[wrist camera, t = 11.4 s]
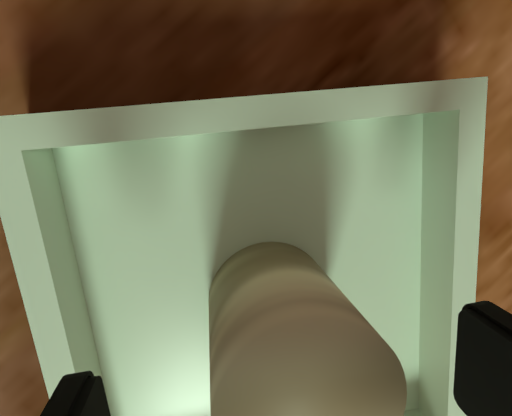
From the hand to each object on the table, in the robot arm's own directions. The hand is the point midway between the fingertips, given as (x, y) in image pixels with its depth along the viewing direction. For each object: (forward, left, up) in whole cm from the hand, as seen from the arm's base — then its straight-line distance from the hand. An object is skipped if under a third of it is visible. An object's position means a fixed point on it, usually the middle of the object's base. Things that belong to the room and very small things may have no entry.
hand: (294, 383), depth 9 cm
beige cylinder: (+1, 0, -6) cm, 6 cm away
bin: (+1, 0, -7) cm, 7 cm away
